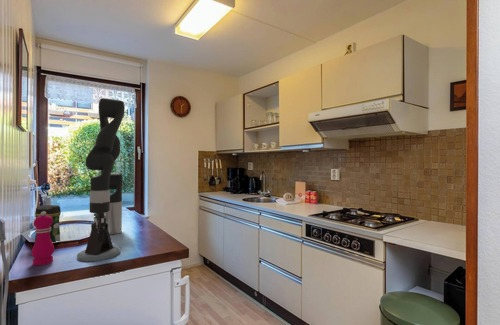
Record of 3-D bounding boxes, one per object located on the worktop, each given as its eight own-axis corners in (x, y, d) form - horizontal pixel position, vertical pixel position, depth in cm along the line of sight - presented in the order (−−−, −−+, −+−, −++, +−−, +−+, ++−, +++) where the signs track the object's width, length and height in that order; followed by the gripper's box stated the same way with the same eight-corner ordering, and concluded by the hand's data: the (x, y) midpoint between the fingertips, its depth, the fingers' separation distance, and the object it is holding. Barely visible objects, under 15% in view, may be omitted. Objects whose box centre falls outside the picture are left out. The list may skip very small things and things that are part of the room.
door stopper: (96, 255, 111) (96, 225, 110) (84, 253, 112) (84, 224, 112) (113, 248, 119) (113, 221, 119) (102, 247, 121) (102, 220, 121)
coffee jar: (30, 246, 126) (31, 206, 126) (44, 241, 134) (45, 203, 134) (51, 246, 126) (51, 206, 125) (63, 241, 133) (64, 204, 133)
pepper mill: (39, 259, 110) (40, 209, 110) (58, 259, 110) (59, 209, 110) (26, 266, 102) (26, 213, 102) (46, 265, 103) (47, 213, 103)
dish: (75, 253, 117) (75, 250, 117) (115, 246, 127) (115, 243, 127) (79, 264, 104) (79, 261, 104) (124, 256, 114) (124, 253, 114)
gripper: (87, 199, 119) (86, 237, 119) (92, 203, 108) (91, 245, 108) (106, 198, 124) (106, 234, 124) (113, 202, 112) (112, 242, 112)
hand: (99, 239), depth 116 cm, fingers closed on door stopper, 6 cm apart
